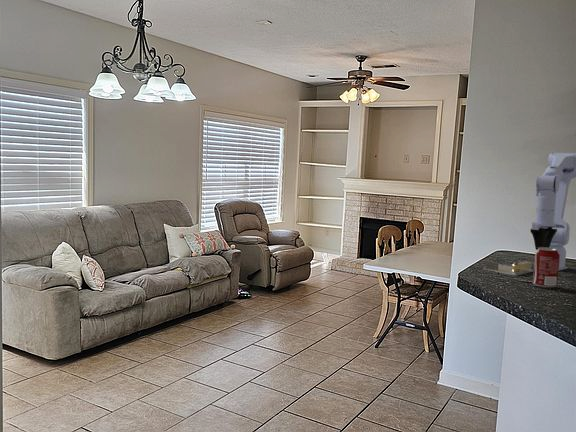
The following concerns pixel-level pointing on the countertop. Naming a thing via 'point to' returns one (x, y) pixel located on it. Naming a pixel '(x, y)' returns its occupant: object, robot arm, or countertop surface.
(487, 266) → the keeper
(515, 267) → the swing bar
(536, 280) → the soda can
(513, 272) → the plate
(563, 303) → the countertop surface
